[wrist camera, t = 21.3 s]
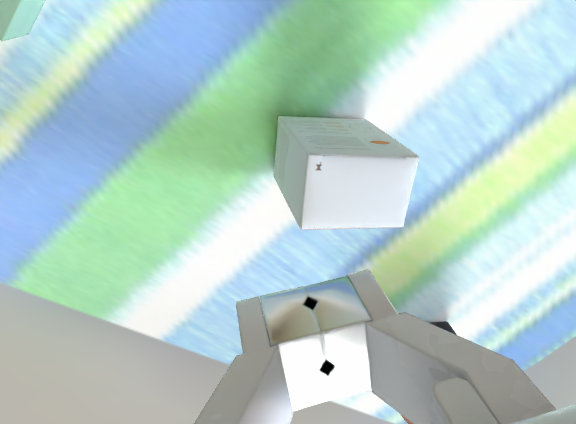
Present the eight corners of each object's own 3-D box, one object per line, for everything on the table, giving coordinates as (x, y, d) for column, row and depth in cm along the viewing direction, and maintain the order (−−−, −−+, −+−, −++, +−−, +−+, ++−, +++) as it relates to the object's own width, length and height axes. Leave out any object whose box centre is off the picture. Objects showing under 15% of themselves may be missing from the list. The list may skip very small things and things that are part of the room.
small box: (272, 176, 40) (297, 231, 31) (277, 113, 38) (305, 153, 28) (357, 177, 42) (405, 230, 32) (367, 117, 39) (421, 156, 30)
